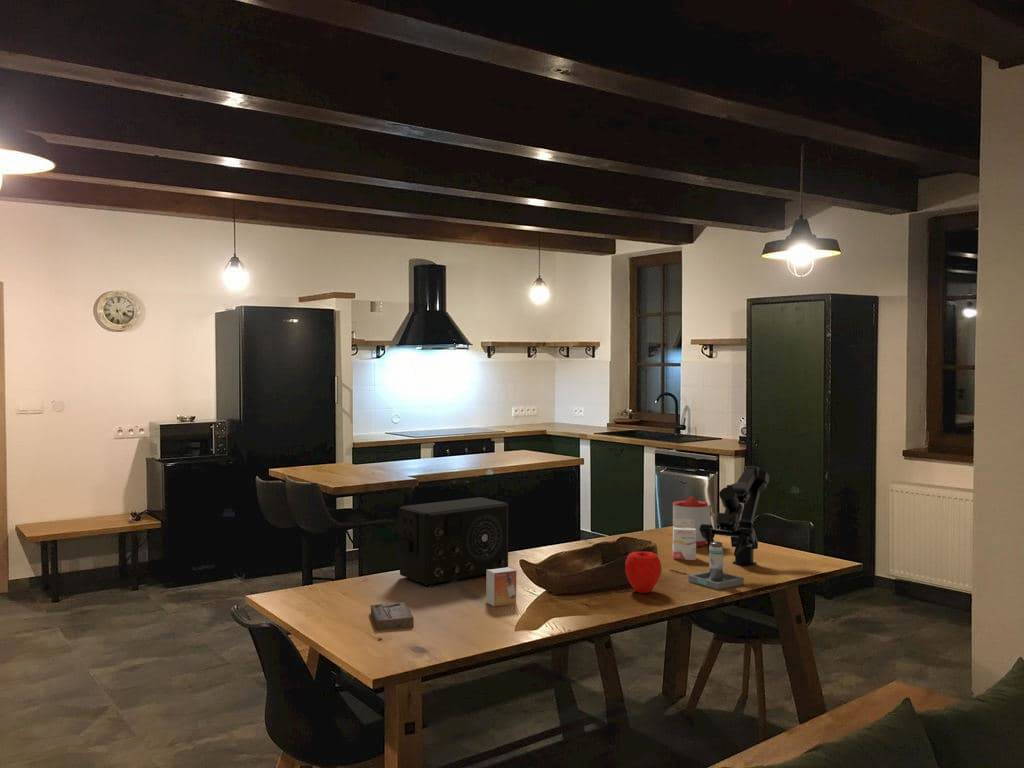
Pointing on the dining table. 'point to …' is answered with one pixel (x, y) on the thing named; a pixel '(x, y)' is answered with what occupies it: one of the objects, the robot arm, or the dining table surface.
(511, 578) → the small box
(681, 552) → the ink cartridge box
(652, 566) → the apple
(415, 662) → the dining table surface
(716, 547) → the canister
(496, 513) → the vintage radio
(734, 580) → the tray
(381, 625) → the box
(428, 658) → the dining table surface
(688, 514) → the citrus juicer
